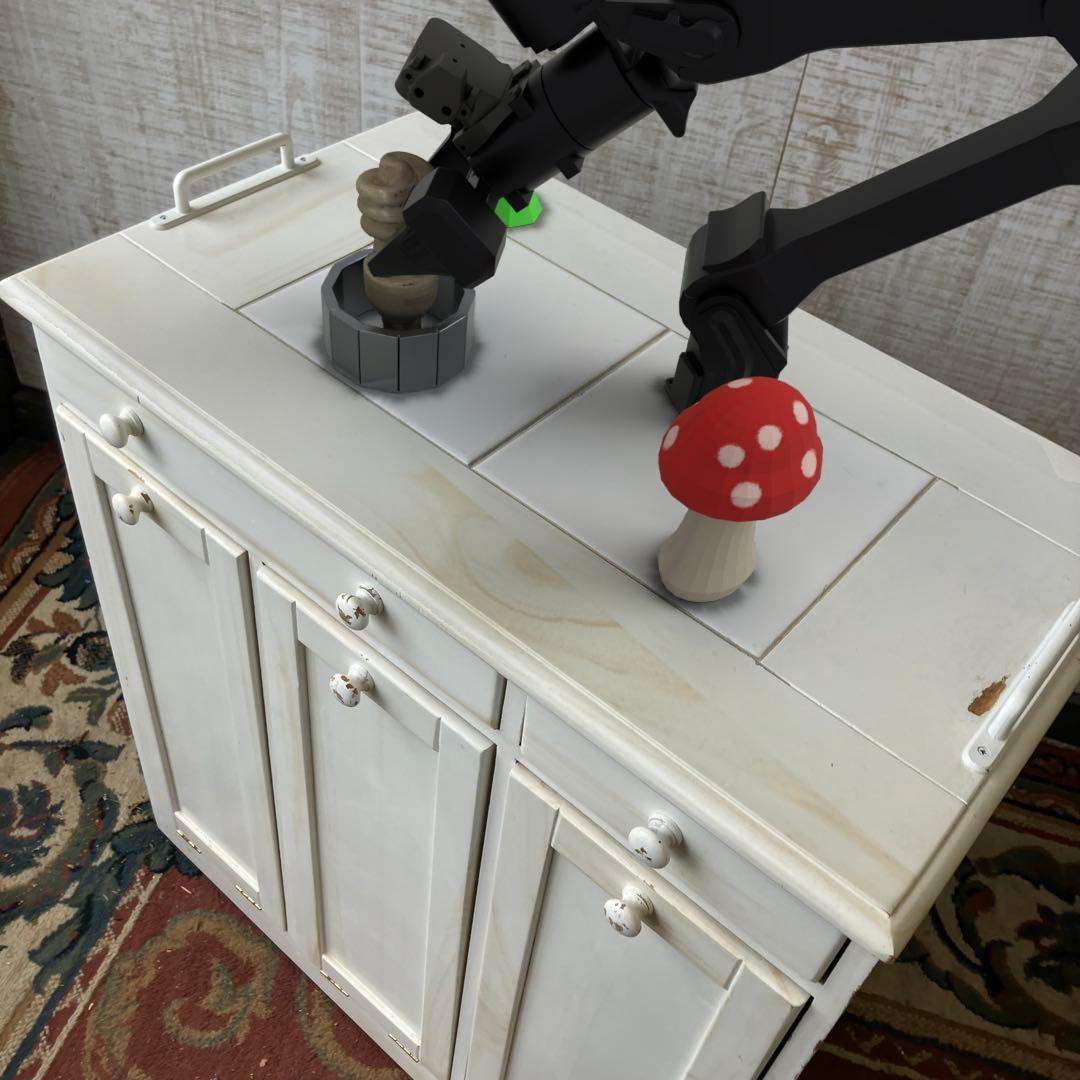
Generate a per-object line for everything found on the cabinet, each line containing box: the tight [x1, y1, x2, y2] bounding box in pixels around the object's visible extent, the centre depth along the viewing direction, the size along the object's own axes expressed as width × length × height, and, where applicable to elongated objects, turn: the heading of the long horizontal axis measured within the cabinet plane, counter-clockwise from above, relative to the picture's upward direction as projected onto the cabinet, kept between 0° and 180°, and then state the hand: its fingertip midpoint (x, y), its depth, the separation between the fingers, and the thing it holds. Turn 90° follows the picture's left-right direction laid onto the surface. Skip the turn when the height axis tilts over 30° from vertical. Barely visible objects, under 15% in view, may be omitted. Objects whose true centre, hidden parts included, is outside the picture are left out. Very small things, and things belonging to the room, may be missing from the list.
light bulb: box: [355, 150, 439, 331], centre depth 75 cm, size 6×6×15 cm
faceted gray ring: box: [320, 247, 476, 394], centre depth 79 cm, size 11×11×5 cm
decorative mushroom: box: [657, 377, 824, 603], centre depth 64 cm, size 10×9×15 cm
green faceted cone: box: [495, 191, 543, 228], centre depth 92 cm, size 6×6×6 cm
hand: (391, 231), depth 74 cm, fingers open, 9 cm apart
